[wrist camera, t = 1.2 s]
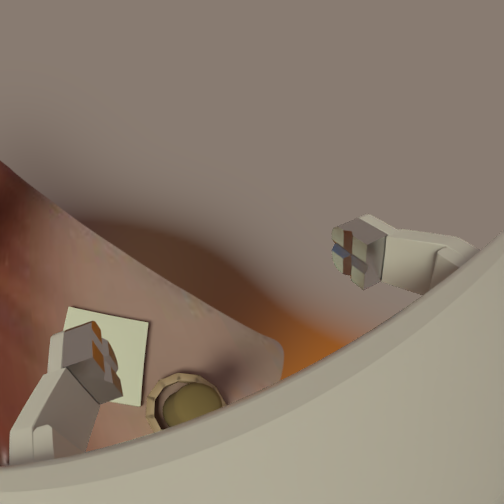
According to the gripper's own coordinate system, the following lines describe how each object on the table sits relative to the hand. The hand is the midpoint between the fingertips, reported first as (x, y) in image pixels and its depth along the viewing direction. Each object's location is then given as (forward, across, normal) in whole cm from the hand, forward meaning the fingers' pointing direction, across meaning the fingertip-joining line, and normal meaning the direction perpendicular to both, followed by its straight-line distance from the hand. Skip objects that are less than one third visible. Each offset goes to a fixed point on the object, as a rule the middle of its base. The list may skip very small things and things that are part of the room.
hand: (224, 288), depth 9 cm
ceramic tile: (+24, +14, +22) cm, 35 cm away
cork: (+16, +6, +30) cm, 35 cm away
